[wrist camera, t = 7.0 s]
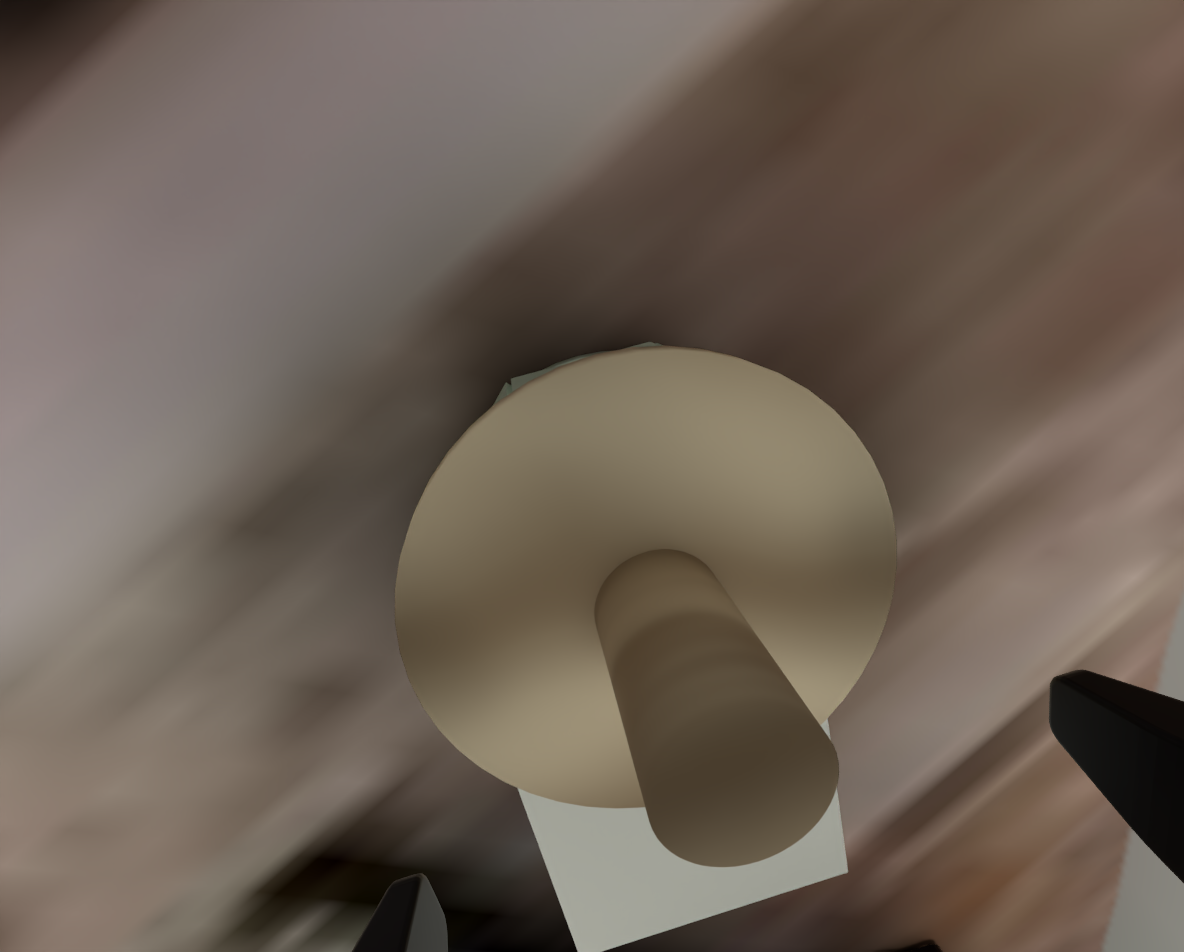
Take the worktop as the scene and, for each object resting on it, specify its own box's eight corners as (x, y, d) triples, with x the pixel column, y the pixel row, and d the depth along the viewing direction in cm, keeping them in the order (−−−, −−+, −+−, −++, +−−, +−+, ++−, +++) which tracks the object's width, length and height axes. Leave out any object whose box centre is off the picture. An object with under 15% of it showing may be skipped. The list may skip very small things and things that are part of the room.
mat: (842, 863, 25) (848, 872, 25) (578, 947, 24) (580, 958, 24) (812, 637, 21) (817, 644, 21) (499, 731, 21) (499, 739, 20)
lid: (891, 710, 16) (1087, 931, 11) (485, 834, 16) (477, 1134, 10) (855, 285, 13) (1128, 299, 7) (320, 426, 12) (171, 557, 7)
